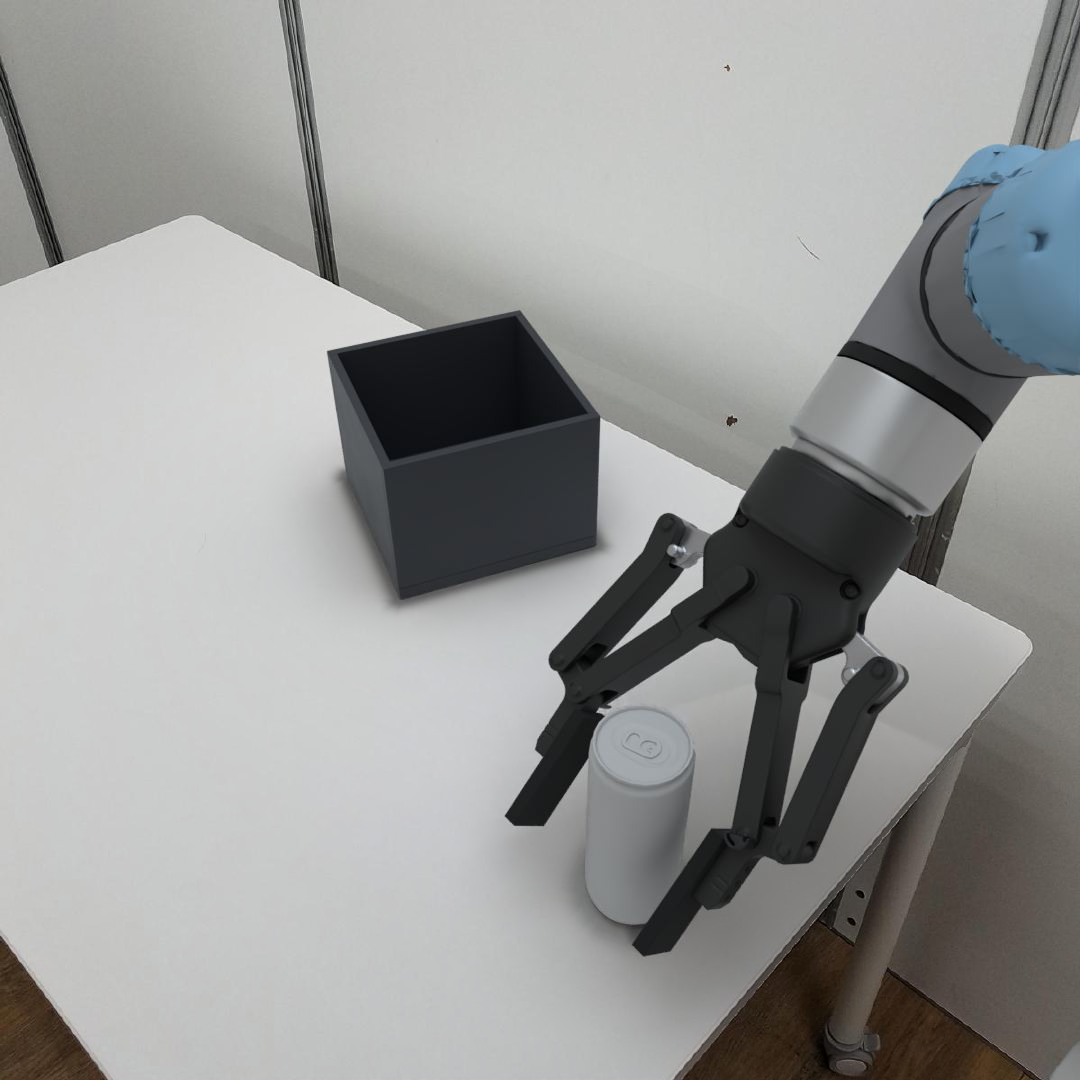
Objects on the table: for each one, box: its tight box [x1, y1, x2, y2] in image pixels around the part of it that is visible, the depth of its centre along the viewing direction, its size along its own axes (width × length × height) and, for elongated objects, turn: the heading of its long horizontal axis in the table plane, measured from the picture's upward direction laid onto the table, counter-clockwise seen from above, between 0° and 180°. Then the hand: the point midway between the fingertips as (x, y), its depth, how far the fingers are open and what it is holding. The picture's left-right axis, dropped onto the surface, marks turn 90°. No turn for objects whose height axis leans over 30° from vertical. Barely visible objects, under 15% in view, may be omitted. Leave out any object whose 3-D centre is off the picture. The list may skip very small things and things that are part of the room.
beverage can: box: [584, 703, 696, 926], centre depth 54 cm, size 5×5×12 cm
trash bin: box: [326, 309, 601, 600], centre depth 77 cm, size 14×14×11 cm
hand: (585, 881), depth 53 cm, fingers open, 8 cm apart
